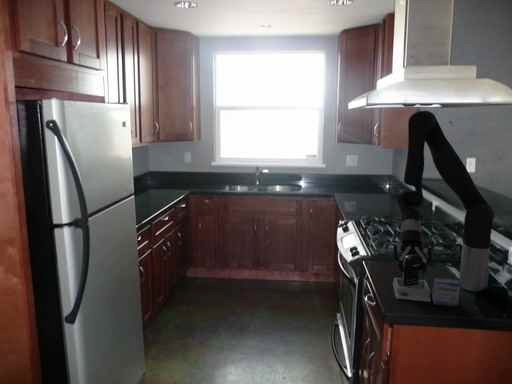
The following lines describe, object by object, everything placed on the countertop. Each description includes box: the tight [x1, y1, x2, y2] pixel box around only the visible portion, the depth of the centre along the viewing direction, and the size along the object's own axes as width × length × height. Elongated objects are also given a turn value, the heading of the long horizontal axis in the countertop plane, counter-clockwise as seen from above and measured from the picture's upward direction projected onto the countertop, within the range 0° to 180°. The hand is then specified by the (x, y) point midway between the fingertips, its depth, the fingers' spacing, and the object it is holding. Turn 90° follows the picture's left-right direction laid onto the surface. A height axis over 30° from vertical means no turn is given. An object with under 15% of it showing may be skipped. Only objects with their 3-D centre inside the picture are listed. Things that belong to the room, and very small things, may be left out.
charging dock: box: [392, 277, 432, 302], centre depth 156 cm, size 12×13×4 cm
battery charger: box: [401, 254, 423, 286], centre depth 154 cm, size 7×4×11 cm, turn 111°
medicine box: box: [431, 277, 461, 307], centre depth 147 cm, size 8×4×9 cm, turn 80°
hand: (412, 272), depth 153 cm, fingers closed on battery charger, 7 cm apart
